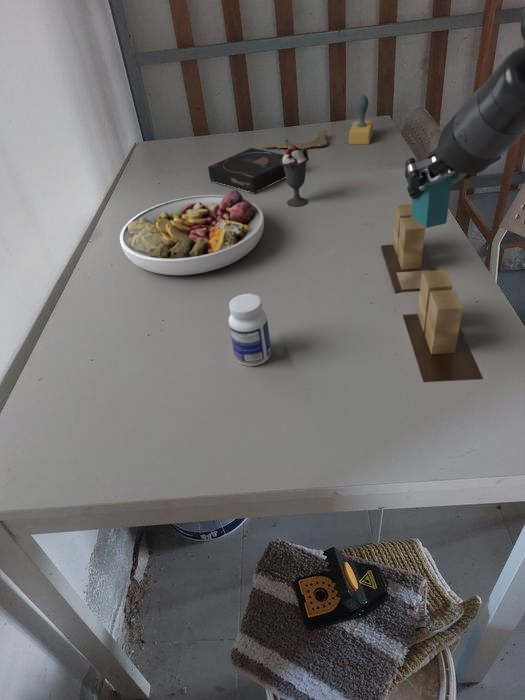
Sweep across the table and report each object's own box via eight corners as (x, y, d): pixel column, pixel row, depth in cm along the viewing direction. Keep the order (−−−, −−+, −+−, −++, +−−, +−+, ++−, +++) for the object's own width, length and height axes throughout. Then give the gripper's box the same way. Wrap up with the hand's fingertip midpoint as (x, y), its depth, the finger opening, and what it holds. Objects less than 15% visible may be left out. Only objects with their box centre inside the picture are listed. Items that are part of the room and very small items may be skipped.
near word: (452, 314, 83) (460, 267, 78) (482, 382, 71) (494, 332, 65) (402, 317, 84) (406, 271, 78) (422, 385, 71) (429, 336, 66)
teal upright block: (430, 211, 82) (436, 161, 77) (446, 223, 78) (453, 170, 73) (410, 216, 81) (415, 165, 76) (425, 228, 77) (431, 175, 72)
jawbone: (337, 146, 152) (337, 139, 150) (270, 160, 149) (269, 153, 148) (326, 135, 158) (326, 128, 157) (262, 148, 155) (261, 142, 154)
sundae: (279, 207, 121) (274, 142, 112) (287, 196, 126) (283, 132, 117) (306, 209, 119) (303, 142, 110) (314, 197, 124) (311, 132, 115)
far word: (421, 244, 102) (426, 202, 96) (443, 292, 88) (449, 247, 83) (380, 247, 102) (382, 206, 97) (395, 295, 89) (398, 250, 83)
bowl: (186, 300, 94) (177, 262, 89) (99, 255, 112) (87, 221, 107) (294, 235, 110) (292, 200, 105) (203, 204, 127) (197, 173, 122)
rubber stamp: (369, 144, 149) (370, 99, 142) (349, 144, 151) (349, 100, 143) (372, 133, 156) (374, 90, 149) (353, 133, 158) (354, 90, 150)
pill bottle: (251, 339, 83) (243, 287, 77) (279, 351, 80) (273, 298, 74) (227, 359, 80) (217, 306, 74) (255, 372, 77) (247, 318, 71)
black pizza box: (298, 171, 138) (297, 156, 136) (254, 194, 129) (252, 178, 127) (254, 161, 148) (253, 147, 145) (210, 181, 139) (208, 166, 136)
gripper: (527, 88, 63) (458, 158, 80) (421, 109, 61) (373, 176, 78) (547, 145, 62) (473, 204, 79) (440, 168, 60) (388, 223, 77)
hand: (424, 190), depth 78 cm, fingers closed on teal upright block, 3 cm apart
